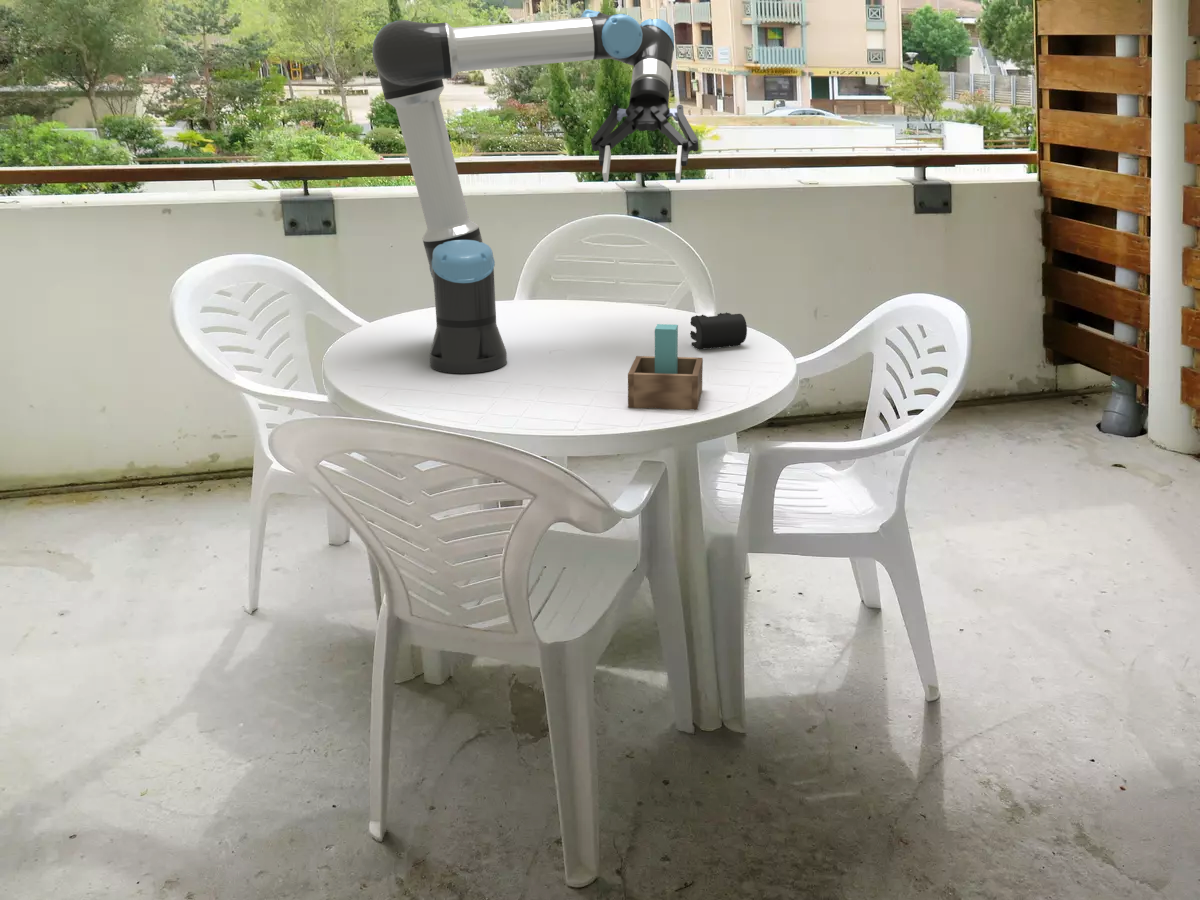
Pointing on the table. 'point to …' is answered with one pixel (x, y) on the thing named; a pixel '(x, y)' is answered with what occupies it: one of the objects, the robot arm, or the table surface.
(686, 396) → the box
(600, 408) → the table surface
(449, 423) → the table surface
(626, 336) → the table surface
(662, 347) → the peg
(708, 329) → the end cap
